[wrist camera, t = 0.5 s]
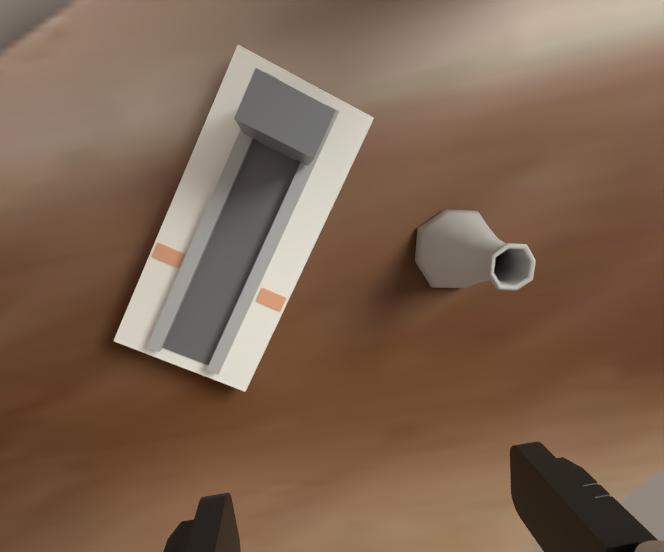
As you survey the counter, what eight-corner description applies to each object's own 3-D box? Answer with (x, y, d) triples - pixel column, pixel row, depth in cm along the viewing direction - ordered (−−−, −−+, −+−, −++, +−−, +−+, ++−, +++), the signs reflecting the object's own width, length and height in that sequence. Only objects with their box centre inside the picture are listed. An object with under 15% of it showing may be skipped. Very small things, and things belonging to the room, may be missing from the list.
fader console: (241, 56, 32) (236, 39, 29) (367, 123, 34) (376, 115, 31) (125, 331, 35) (108, 345, 32) (247, 378, 37) (244, 397, 34)
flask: (498, 276, 38) (572, 303, 28) (422, 299, 38) (471, 334, 28) (483, 197, 36) (556, 197, 27) (404, 220, 36) (448, 228, 26)
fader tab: (262, 96, 30) (255, 67, 23) (324, 129, 31) (335, 110, 24) (245, 135, 31) (234, 118, 24) (307, 166, 31) (313, 158, 25)
